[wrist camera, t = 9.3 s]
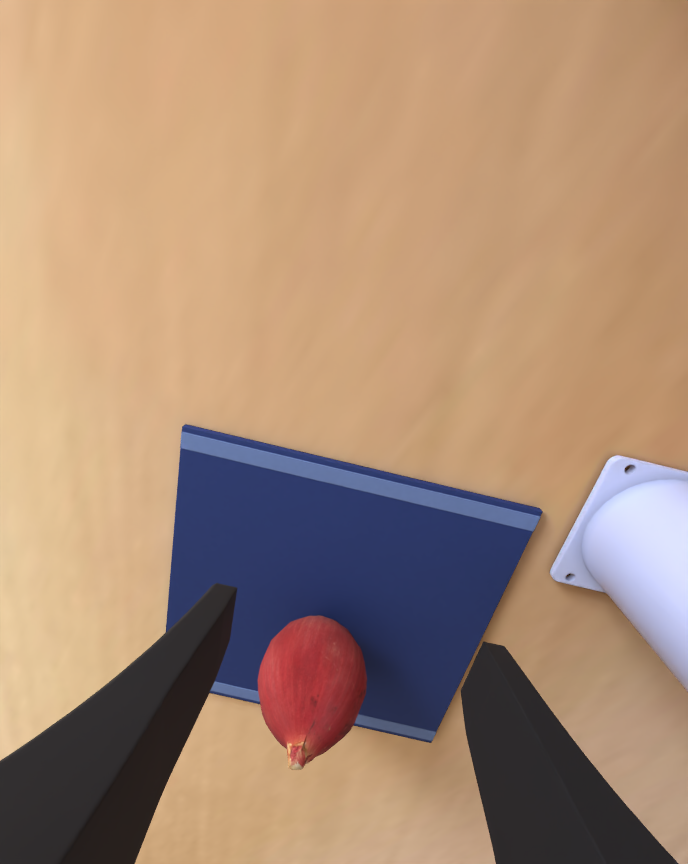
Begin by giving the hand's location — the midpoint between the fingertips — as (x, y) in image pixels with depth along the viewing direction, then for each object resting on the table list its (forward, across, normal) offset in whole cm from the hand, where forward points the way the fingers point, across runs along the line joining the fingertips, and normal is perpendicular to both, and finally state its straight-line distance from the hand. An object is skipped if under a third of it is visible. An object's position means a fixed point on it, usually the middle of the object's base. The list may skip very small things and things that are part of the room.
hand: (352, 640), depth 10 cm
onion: (+10, 0, +10) cm, 14 cm away
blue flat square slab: (+10, 0, +9) cm, 14 cm away
